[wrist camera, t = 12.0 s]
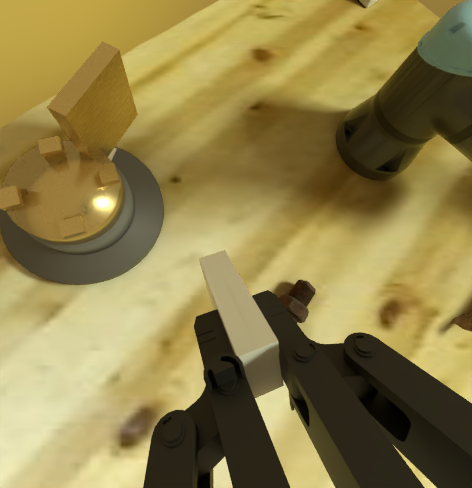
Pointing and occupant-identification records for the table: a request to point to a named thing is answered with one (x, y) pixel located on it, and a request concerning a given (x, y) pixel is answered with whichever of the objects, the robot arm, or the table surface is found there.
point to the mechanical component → (367, 2)
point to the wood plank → (464, 321)
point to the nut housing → (104, 247)
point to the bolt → (298, 300)
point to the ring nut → (76, 158)
